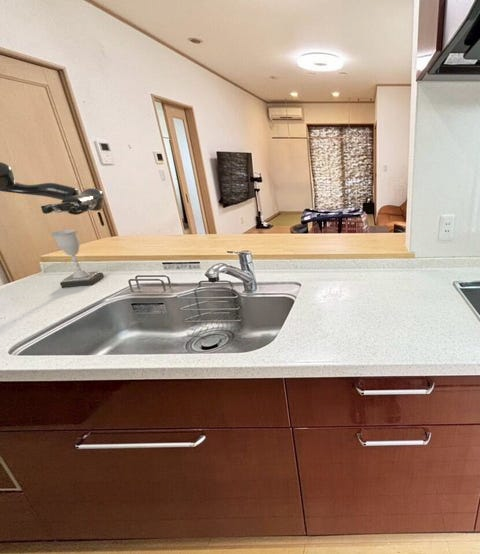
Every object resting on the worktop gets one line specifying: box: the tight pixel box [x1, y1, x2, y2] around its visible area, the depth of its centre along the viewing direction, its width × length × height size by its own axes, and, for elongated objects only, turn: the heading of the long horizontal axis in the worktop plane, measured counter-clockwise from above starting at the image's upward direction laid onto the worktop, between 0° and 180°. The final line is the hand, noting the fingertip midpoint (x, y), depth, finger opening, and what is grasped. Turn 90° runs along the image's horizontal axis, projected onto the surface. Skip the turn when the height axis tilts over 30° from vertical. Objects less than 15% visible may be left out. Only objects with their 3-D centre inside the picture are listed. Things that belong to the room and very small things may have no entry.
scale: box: [59, 270, 105, 289], centre depth 120 cm, size 10×9×3 cm
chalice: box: [50, 229, 89, 278], centre depth 116 cm, size 7×7×18 cm
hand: (58, 210), depth 116 cm, fingers open, 8 cm apart
